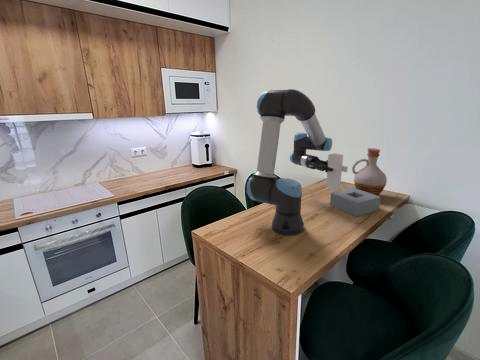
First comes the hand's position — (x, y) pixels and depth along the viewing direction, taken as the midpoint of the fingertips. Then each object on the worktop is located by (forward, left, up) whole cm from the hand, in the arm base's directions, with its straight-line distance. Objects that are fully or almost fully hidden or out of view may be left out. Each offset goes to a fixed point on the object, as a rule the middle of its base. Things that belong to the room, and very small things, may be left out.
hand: (342, 170), depth 125 cm
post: (0, +5, -11) cm, 12 cm away
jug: (+36, +11, -25) cm, 45 cm away
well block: (+15, +3, -24) cm, 29 cm away
